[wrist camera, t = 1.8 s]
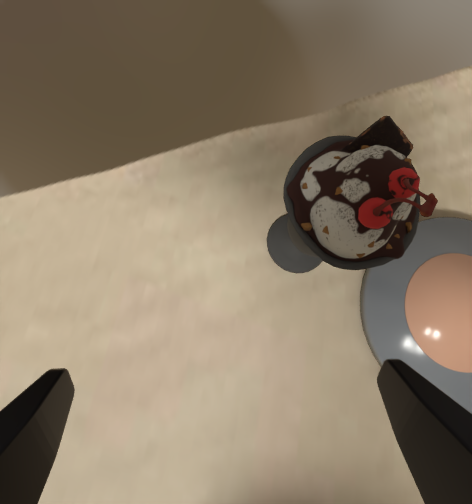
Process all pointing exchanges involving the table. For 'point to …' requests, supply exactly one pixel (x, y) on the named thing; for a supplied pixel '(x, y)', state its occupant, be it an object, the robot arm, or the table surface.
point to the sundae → (350, 202)
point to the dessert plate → (426, 307)
